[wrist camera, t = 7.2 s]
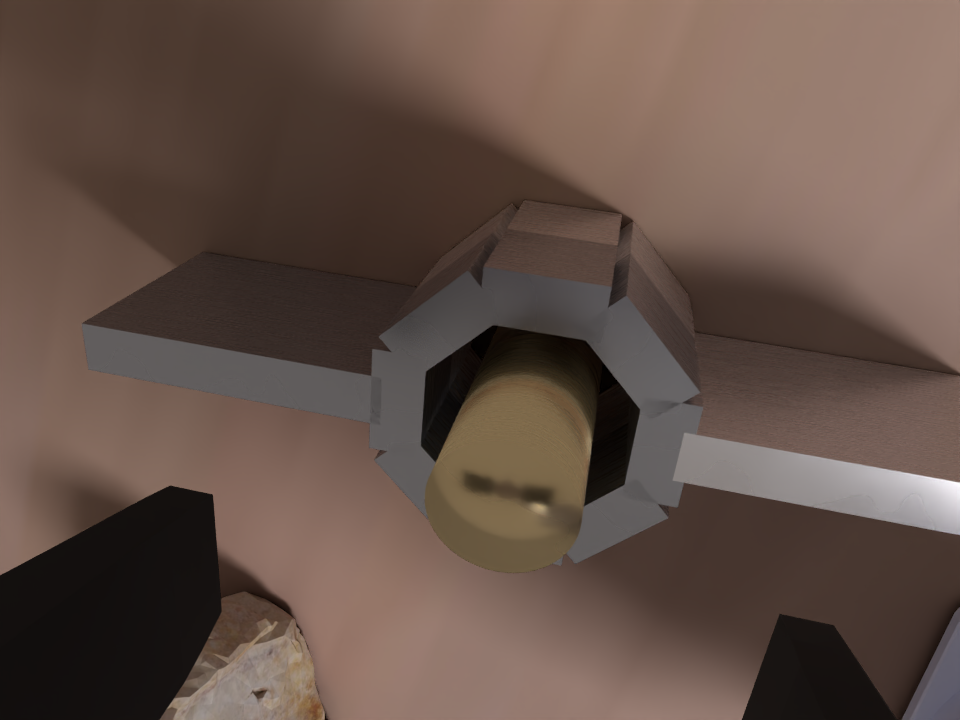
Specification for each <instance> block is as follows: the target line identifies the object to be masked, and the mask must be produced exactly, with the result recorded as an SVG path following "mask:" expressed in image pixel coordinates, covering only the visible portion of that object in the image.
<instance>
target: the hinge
mask: <svg viewBox="0 0 960 720" xmlns="http://www.w3.org/2000/svg"><path fill="white" fill-rule="evenodd" d="M621 218H622V214H619V213H612V212H605V211H598V210H591V209H585V208H578V207H571V206H564V205H557V204H550V203H543V202H536V201H529V200H524V201H523V203H522V205H521V206H520V208H519V209H518V210H517V209H516V207H515V206H514V205H513V204H512V203H511V204H510V205H509V206H507V207H506V208H505V209H504V210H502V211H501V212H500V213H498V214H497V215H496V216H494V217H493V218H492V219H491V220H489V221H488V222H487V223H485V224H484V225H483V226H481V227H480V228H479V229H477V230H476V231H475V232H474V233H472V234H471V235H470V236H468V237H467V238H466V239H464V240H463V241H462V242H461V243H459V244H458V245H457V246H455V247H454V248H453V249H451V250H450V251H449V252H447V253H446V254H445V255H444V256H442V257H441V258H440V259H439V261H438V262H437V263H436V264H435V266H434V267H433V268H432V269H431V271H430V272H429V273H428V275H427V276H426V277H425V278H424V280H423V281H422V282H421V283H420V285H419V286H418V287H413V286H407V285H401V284H395V283H389V282H382V281H376V280H370V279H364V278H358V277H352V276H346V275H340V274H333V273H327V272H321V271H315V270H309V269H303V268H297V267H290V266H284V265H278V264H272V263H266V262H260V261H254V260H248V259H241V258H235V257H229V256H223V255H217V254H211V253H205V252H202V253H200V254H199V255H197V256H195V257H194V258H192V259H190V260H189V261H187V262H185V263H183V264H182V265H180V266H178V267H177V268H175V269H173V270H172V271H170V272H168V273H166V274H165V275H163V276H161V277H160V278H158V279H156V280H155V281H153V282H151V283H149V284H148V285H146V286H144V287H143V288H141V289H139V290H138V291H136V292H134V293H132V294H131V295H129V296H127V297H126V298H124V299H122V300H121V301H119V302H117V303H116V304H114V305H112V306H110V307H109V308H107V309H105V310H104V311H102V312H100V313H99V314H97V315H95V316H93V317H92V318H90V319H88V320H87V321H85V322H83V323H82V330H83V336H84V343H85V349H86V356H87V362H88V369H89V370H93V371H99V372H104V373H109V374H114V375H120V376H125V377H130V378H135V379H141V380H146V381H151V382H156V383H162V384H167V385H172V386H178V387H183V388H188V389H193V390H199V391H204V392H209V393H214V394H220V395H225V396H230V397H235V398H241V399H246V400H251V401H257V402H262V403H267V404H272V405H278V406H283V407H288V408H293V409H299V410H304V411H309V412H314V413H320V414H325V415H330V416H335V417H341V418H346V419H351V420H357V421H362V422H367V423H370V435H369V448H373V449H378V450H380V451H379V453H378V454H377V456H376V458H375V459H374V461H375V462H376V463H377V464H378V465H379V466H380V467H381V468H382V469H383V470H384V471H385V473H386V474H387V475H388V476H389V477H390V478H391V479H392V480H393V481H394V482H395V484H396V485H397V486H398V487H399V488H400V489H401V490H402V491H403V492H404V493H405V495H406V496H407V497H408V498H409V499H410V500H411V501H412V502H413V503H414V504H415V506H416V507H417V508H418V509H419V510H420V511H421V512H422V513H423V514H424V515H425V517H426V518H427V519H428V516H427V513H426V508H425V488H426V484H427V481H428V478H429V476H430V474H431V472H432V470H433V467H434V465H435V463H436V461H437V459H438V456H439V454H440V452H441V450H442V448H443V446H444V443H445V441H446V439H447V437H448V435H449V432H450V430H451V428H452V426H453V424H454V422H455V419H456V417H457V415H458V413H459V411H460V408H461V406H462V404H463V402H464V400H465V397H466V395H467V393H468V391H469V389H470V387H471V384H472V382H473V380H474V378H475V376H476V373H477V371H478V369H479V367H480V365H481V363H482V359H481V358H480V357H479V356H478V354H477V353H476V352H475V351H474V350H473V348H472V347H471V342H472V339H474V338H475V337H476V336H478V335H479V334H481V333H482V332H484V331H485V330H487V329H488V328H489V327H491V326H492V325H497V326H503V327H509V328H515V329H521V330H527V331H533V332H539V333H545V334H551V335H557V336H563V337H569V338H574V339H580V340H586V341H587V343H588V344H589V345H590V346H591V348H592V349H593V350H594V351H595V353H596V354H597V355H598V357H599V358H600V359H601V360H602V362H603V363H604V364H605V365H606V367H607V368H608V369H609V370H610V372H611V373H612V374H613V376H614V377H615V378H616V379H617V381H618V383H616V384H614V385H613V386H611V387H609V388H608V389H606V390H604V391H603V392H601V393H599V397H598V404H597V412H596V419H595V427H594V434H593V442H592V449H591V457H590V464H589V471H588V479H587V486H586V494H585V501H584V509H583V516H582V524H581V528H580V532H579V534H578V537H577V539H576V541H575V543H574V544H573V546H572V547H571V548H570V550H569V551H568V552H567V553H566V554H567V555H568V556H569V557H570V558H571V560H572V561H573V562H574V563H575V564H577V563H579V562H581V561H583V560H585V559H587V558H589V557H591V556H593V555H595V554H597V553H599V552H601V551H603V550H605V549H607V548H609V547H611V546H613V545H615V544H617V543H619V542H621V541H623V540H625V539H627V538H629V537H631V536H633V535H635V534H637V533H639V532H641V531H643V530H645V529H647V528H649V527H651V526H653V525H655V524H657V523H659V522H662V521H664V520H666V519H668V518H669V511H668V506H671V507H677V508H678V504H679V500H680V496H681V492H682V489H683V485H684V483H688V484H693V485H699V486H704V487H709V488H715V489H720V490H725V491H730V492H736V493H741V494H746V495H751V496H757V497H762V498H767V499H772V500H778V501H783V502H788V503H794V504H799V505H804V506H809V507H815V508H820V509H825V510H830V511H836V512H841V513H846V514H851V515H857V516H862V517H867V518H872V519H878V520H883V521H888V522H894V523H899V524H904V525H909V526H915V527H920V528H925V529H930V530H936V531H941V532H946V533H951V534H957V535H960V376H958V375H952V374H946V373H940V372H934V371H928V370H922V369H915V368H909V367H903V366H897V365H891V364H885V363H879V362H873V361H866V360H860V359H854V358H848V357H842V356H836V355H830V354H824V353H817V352H811V351H805V350H799V349H793V348H787V347H781V346H774V345H768V344H762V343H756V342H750V341H744V340H738V339H732V338H725V337H719V336H713V335H707V334H701V333H695V330H694V321H693V313H692V308H691V305H690V297H689V295H688V294H687V293H686V291H685V290H684V288H683V287H682V286H681V284H680V283H679V282H678V280H677V279H676V278H675V276H674V275H673V274H672V272H671V271H670V270H669V268H668V267H667V265H666V264H665V263H664V261H663V260H662V259H661V257H660V256H659V255H658V253H657V252H656V251H655V249H654V248H653V246H652V245H651V244H650V242H649V241H648V240H647V238H646V237H645V236H644V234H643V233H642V232H641V230H640V229H639V227H638V226H637V225H636V223H635V222H634V221H632V222H631V223H629V224H628V225H626V226H625V227H624V228H622V229H621V230H620V225H621ZM428 520H429V519H428ZM562 559H563V557H561V558H560V559H559V560H557V561H556V562H554V563H553V564H556V565H562Z"/></svg>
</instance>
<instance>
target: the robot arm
mask: <svg viewBox="0 0 960 720" xmlns="http://www.w3.org/2000/svg"><path fill="white" fill-rule="evenodd" d="M221 612H222V606H221V593H220V581H219V568H218V555H217V542H216V529H215V516H214V503H213V495H212V494H207V493H203V492H198V491H193V490H188V489H184V488H179V487H174V486H169V487H166V488H164V489H162V490H160V491H158V492H156V493H154V494H152V495H150V496H148V497H146V498H144V499H142V500H140V501H138V502H137V503H135V504H133V505H131V506H129V507H127V508H125V509H123V510H122V511H120V512H118V513H116V514H114V515H112V516H110V517H109V518H107V519H105V520H103V521H101V522H99V523H98V524H96V525H94V526H92V527H90V528H88V529H87V530H85V531H83V532H81V533H79V534H77V535H75V536H74V537H72V538H70V539H68V540H66V541H64V542H62V543H60V544H59V545H57V546H55V547H53V548H51V549H49V550H47V551H45V552H43V553H42V554H40V555H38V556H36V557H34V558H32V559H30V560H28V561H27V562H25V563H23V564H21V565H19V566H17V567H15V568H13V569H11V570H10V571H8V572H6V573H4V574H2V575H0V720H160V718H161V717H162V715H163V714H164V712H165V711H166V710H167V708H168V707H169V705H170V704H171V702H172V701H173V699H174V698H175V696H176V695H177V693H178V692H179V690H180V689H181V687H182V686H183V684H184V683H185V681H186V679H187V677H188V676H189V674H190V672H191V670H192V668H193V666H194V665H195V663H196V661H197V659H198V657H199V655H200V653H201V652H202V650H203V648H204V646H205V644H206V642H207V640H208V638H209V636H210V634H211V632H212V630H213V628H214V626H215V624H216V622H217V620H218V618H219V616H220V614H221ZM742 720H897V719H896V717H895V716H894V714H893V713H892V711H891V710H890V709H889V707H888V706H887V704H886V703H885V701H884V700H883V698H882V697H881V695H880V694H879V692H878V691H877V689H876V688H875V686H874V685H873V683H872V682H871V680H870V679H869V677H868V676H867V674H866V673H865V671H864V670H863V668H862V667H861V665H860V664H859V662H858V661H857V659H856V658H855V656H854V655H853V653H852V652H851V650H850V649H849V647H848V646H847V644H846V643H845V641H844V640H843V638H842V637H841V635H840V634H839V633H838V631H837V630H836V628H835V627H834V625H829V624H825V623H820V622H815V621H810V620H806V619H801V618H796V617H791V616H787V615H782V614H780V615H779V617H778V620H777V623H776V626H775V629H774V631H773V634H772V637H771V640H770V643H769V645H768V648H767V651H766V654H765V657H764V659H763V662H762V665H761V668H760V671H759V673H758V676H757V679H756V682H755V685H754V687H753V690H752V693H751V696H750V698H749V701H748V704H747V707H746V710H745V712H744V715H743V718H742ZM902 720H960V607H959V608H958V609H957V611H956V612H955V613H954V615H953V617H952V619H951V621H950V623H949V625H948V627H947V629H946V631H945V633H944V635H943V637H942V639H941V641H940V643H939V645H938V647H937V649H936V651H935V653H934V655H933V657H932V659H931V661H930V663H929V665H928V667H927V669H926V671H925V673H924V675H923V677H922V679H921V681H920V683H919V685H918V688H917V690H916V692H915V694H914V696H913V698H912V700H911V702H910V704H909V706H908V708H907V710H906V712H905V714H904V716H903V718H902Z"/></svg>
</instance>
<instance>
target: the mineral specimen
mask: <svg viewBox="0 0 960 720" xmlns="http://www.w3.org/2000/svg"><path fill="white" fill-rule="evenodd" d="M221 606H222V612H221V614H220V616H219V618H218V620H217V622H216V624H215V626H214V628H213V630H212V632H211V634H210V636H209V638H208V640H207V642H206V644H205V646H204V648H203V650H202V652H201V653H200V655H199V657H198V659H197V661H196V663H195V665H194V666H193V668H192V670H191V672H190V674H189V676H188V677H187V679H186V681H185V683H184V684H183V686H182V687H181V689H180V690H179V692H178V693H177V695H176V696H175V698H174V699H173V701H172V702H171V704H170V705H169V707H168V708H167V710H166V711H165V712H164V714H163V715H162V717H161V718H160V720H325V712H324V709H323V706H322V703H321V701H320V698H319V695H318V692H317V689H316V686H315V680H314V668H313V662H312V659H311V655H310V653H309V651H308V649H307V646H306V643H305V639H304V637H303V636H302V635H301V634H300V633H299V632H300V630H299V629H298V628H297V627H296V621H295V619H294V618H293V617H292V616H290V615H289V614H288V613H286V612H285V611H284V610H282V609H281V608H279V607H277V606H276V605H274V604H273V603H271V602H270V601H268V600H266V599H264V598H261V597H258V596H256V595H252V594H249V593H247V592H245V591H244V592H241V593H237V594H233V595H230V596H226V597H224V598H221Z"/></svg>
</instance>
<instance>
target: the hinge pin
mask: <svg viewBox="0 0 960 720" xmlns="http://www.w3.org/2000/svg"><path fill="white" fill-rule="evenodd" d="M602 367H603V362H602V360H601V359H600V358H599V357H598V355H597V354H596V353H595V351H594V350H593V349H592V348H591V346H590V345H589V344H588V343H587V341H586V340H580V339H574V338H569V337H563V336H557V335H551V334H545V333H539V332H533V331H527V330H521V329H515V328H509V327H503V326H498V328H497V330H496V332H495V334H494V336H493V338H492V341H491V343H490V345H489V347H488V349H487V352H486V354H485V356H484V358H483V360H482V363H481V365H480V367H479V369H478V371H477V373H476V376H475V378H474V380H473V382H472V384H471V387H470V389H469V391H468V393H467V395H466V397H465V400H464V402H463V404H462V406H461V408H460V411H459V413H458V415H457V417H456V419H455V422H454V424H453V426H452V428H451V430H450V432H449V435H448V437H447V439H446V441H445V443H444V446H443V448H442V450H441V452H440V454H439V456H438V459H437V461H436V463H435V465H434V467H433V470H432V472H431V474H430V476H429V478H428V481H427V484H426V488H425V508H426V513H427V516H428V519H429V522H430V524H431V526H432V528H433V529H434V531H435V532H436V534H437V535H438V537H439V538H440V539H441V540H442V542H443V543H444V544H445V545H446V546H447V547H448V548H449V549H450V550H452V551H453V552H454V553H456V554H457V555H458V556H460V557H461V558H463V559H465V560H466V561H468V562H470V563H472V564H474V565H477V566H479V567H482V568H485V569H488V570H493V571H497V572H505V573H522V572H529V571H535V570H538V569H541V568H544V567H546V566H548V565H551V564H553V563H554V562H556V561H557V560H559V559H560V558H561V557H563V556H564V555H565V554H566V553H567V552H568V551H569V550H570V548H571V547H572V546H573V544H574V543H575V541H576V539H577V537H578V534H579V532H580V528H581V524H582V516H583V509H584V501H585V494H586V486H587V479H588V471H589V464H590V457H591V449H592V442H593V434H594V427H595V419H596V412H597V404H598V397H599V389H600V382H601V375H602Z"/></svg>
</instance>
